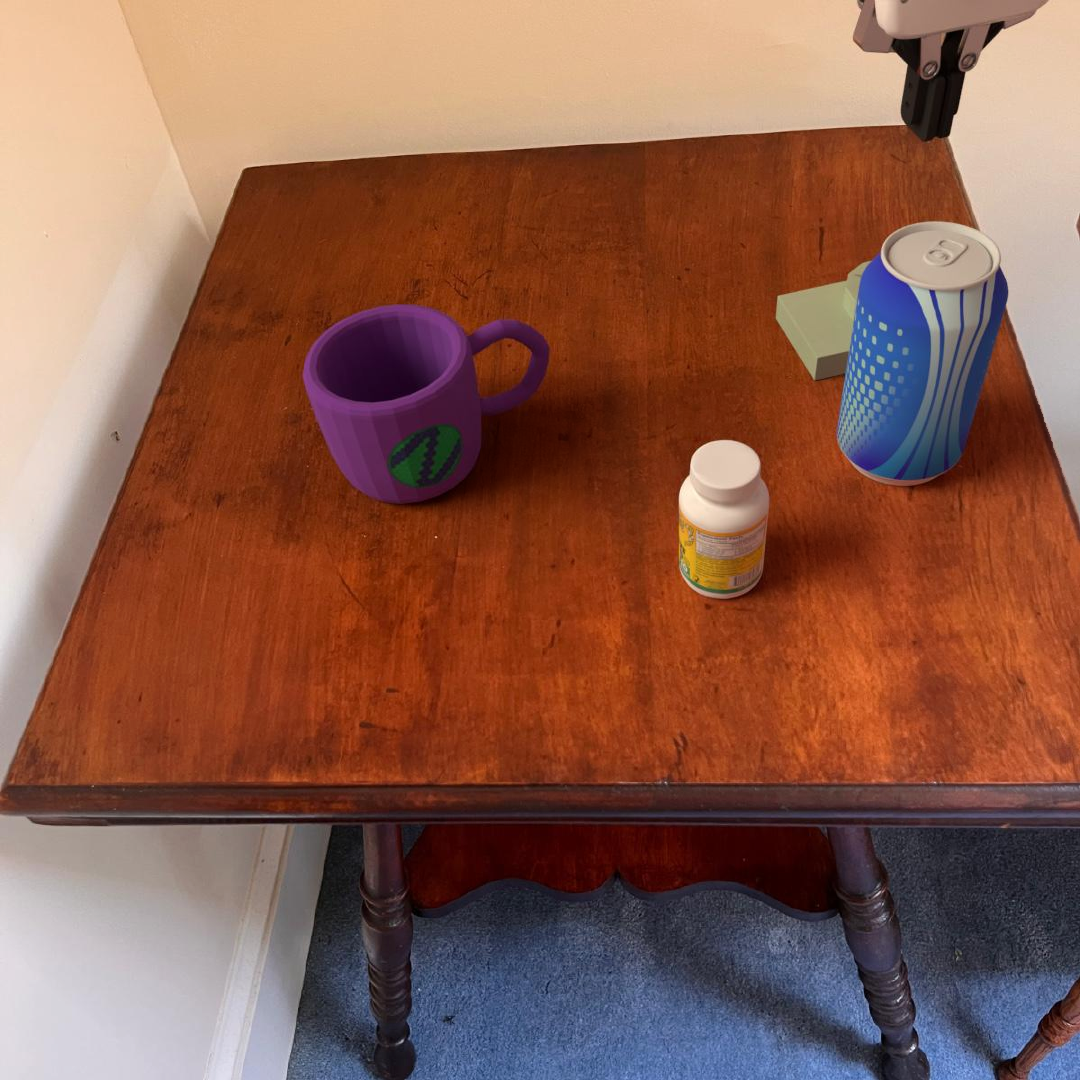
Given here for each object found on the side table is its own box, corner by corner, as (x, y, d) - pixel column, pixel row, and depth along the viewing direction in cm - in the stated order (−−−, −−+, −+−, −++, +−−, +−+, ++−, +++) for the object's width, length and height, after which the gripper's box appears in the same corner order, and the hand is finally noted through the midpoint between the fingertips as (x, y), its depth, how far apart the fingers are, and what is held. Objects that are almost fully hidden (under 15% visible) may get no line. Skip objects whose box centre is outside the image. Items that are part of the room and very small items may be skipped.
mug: (367, 540, 71) (330, 435, 64) (318, 442, 78) (279, 337, 71) (589, 447, 75) (580, 338, 68) (524, 362, 82) (508, 254, 75)
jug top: (905, 289, 83) (914, 246, 80) (953, 349, 78) (964, 305, 75) (775, 318, 83) (778, 276, 80) (814, 381, 77) (819, 338, 74)
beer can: (981, 483, 69) (1044, 282, 57) (857, 504, 69) (895, 307, 57) (932, 401, 75) (981, 202, 63) (818, 420, 75) (845, 225, 62)
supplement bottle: (754, 608, 64) (764, 505, 57) (670, 593, 66) (668, 490, 59) (769, 544, 68) (780, 438, 60) (688, 530, 69) (689, 425, 62)
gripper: (877, -177, 48) (835, 183, 62) (1177, -234, 49) (1070, 133, 63) (815, -215, 53) (789, 126, 67) (1089, -267, 54) (1007, 80, 68)
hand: (925, 129), depth 65 cm, fingers closed
